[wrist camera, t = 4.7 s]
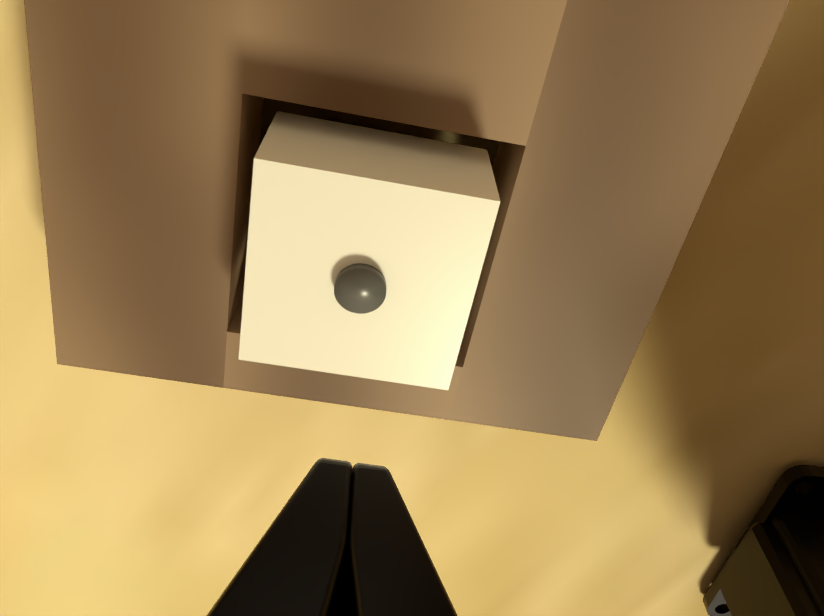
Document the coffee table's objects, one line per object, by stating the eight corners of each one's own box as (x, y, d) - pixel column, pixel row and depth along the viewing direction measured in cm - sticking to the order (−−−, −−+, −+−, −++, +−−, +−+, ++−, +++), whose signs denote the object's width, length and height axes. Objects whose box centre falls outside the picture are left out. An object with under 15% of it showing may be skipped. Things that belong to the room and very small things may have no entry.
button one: (487, 149, 14) (502, 206, 12) (442, 321, 16) (448, 397, 14) (277, 110, 13) (251, 162, 11) (260, 292, 16) (235, 366, 13)
